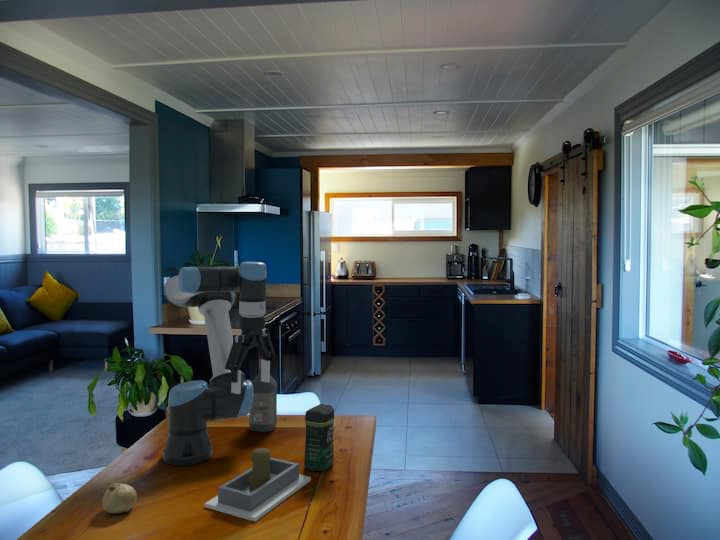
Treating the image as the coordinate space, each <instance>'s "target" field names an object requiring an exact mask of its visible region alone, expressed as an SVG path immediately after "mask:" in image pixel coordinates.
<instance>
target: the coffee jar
mask: <svg viewBox="0 0 720 540" xmlns="http://www.w3.org/2000/svg"><path fill="white" fill-rule="evenodd" d="M334 423H335V409H334V407H333V406H332V405H330V404H325V403H320V404H317V405H315V406H313V407H311V408H309V409H308V410H306V411H305V416H304V424H305V442H304V443H305V444H304V446H305V447H304V458H303V460H304V461H303V462H304V463H303V466H304V468H305V469H307V470H309V471H312V472H318V471H319V472H323V471H326V470H327V469H329V468H330V467H331V466H332V465H333V464H334V460H335V459H334V425H335V424H334Z"/></svg>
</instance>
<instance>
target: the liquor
mask: <svg viewBox="0 0 720 540" xmlns="http://www.w3.org/2000/svg"><path fill="white" fill-rule="evenodd" d="M257 353H258V372H257V375H256V376H255V377H254V379H253V380H252V381H251V382H252V384H253V404H252V408H251V411H250V412H249V414H248V416H249V417H248V418H249V419H248V421H249V422H248V423H249V426H248V427H249V430H250V431H251V430H252V431H251V432H253V431H257V432H256V433H269V432H268V431H270V432H272V430H273V431H274V429H275V427H276V425H277V424H278V423H277V419H278V418H277V413H278V412H277V411H278V410H277V407H278V406H277V403H278V400H277V399H278V398H277V396H278V393H277V391H278V389H277V388H278V386H277V385H278V384H277V381H276V380H275V378H274V377H272V375H271V374H270V382H263V381H261V360H264V359H263V357H262V356H261V354H260V352H259V351H258V350H257ZM258 431H259V432H258Z"/></svg>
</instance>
